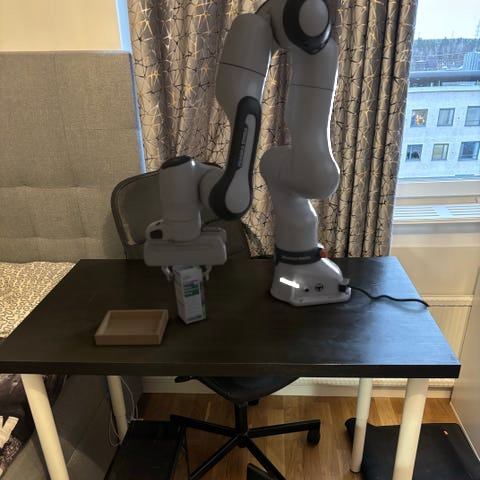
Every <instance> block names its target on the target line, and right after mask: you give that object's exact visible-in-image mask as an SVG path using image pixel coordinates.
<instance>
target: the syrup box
mask: <svg viewBox="0 0 480 480" xmlns="http://www.w3.org/2000/svg"><path fill="white" fill-rule="evenodd" d="M202 272H203V270H202V268H201V266H200V265H184V266H172V273H174V281H173V282H174V288H175V289H174V290H175V297H176V305H177V312H178V316H179V317H180V319H181V320H182V321H183V322H184V323H185V324H186V325H189V324H190V323H194V322H198V321H202V320H206V319H207V312H206V311H207V310H206V303H205V302H206V301H205V290H204V281H203V280H202Z"/></svg>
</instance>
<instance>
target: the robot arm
mask: <svg viewBox="0 0 480 480" xmlns="http://www.w3.org/2000/svg"><path fill="white" fill-rule="evenodd" d="M332 33H333V30H332V11H331V6H330V3H329V0H264V2H263V3H261V4H260V5H259V6H258V8H257V10H256V11H255V12H254V13H253V12H245V13H240V14H238V15H237V16H235V18H233V20H232V21H231V23H230V26H229V29H228V30H227V34H226V36H225V39H224V42H223V45H222V48H221V51H220V55H219V59H218V62H217V63H218V64H217V67H216V70H215V78H214V88H213V89H214V90H213V93H214V94H213V95H214V97H215V100H216V102H217V104H218V106H219V107H220V109H221V110H222V111H223V113H224V114H225V116H226V119H227V121H228V123H229V129H230V133H229V134H230V135H229V141H228V146H227V153H226V159H225V166H224V169H223V168H221V167H218V166H214V165H209V164H205V163H203V162H200V161H198V160H196V159H194V158H193V157H192V156H191V155H190V156H189V155H177V156H172V157H170V158H167V159H166V160H165V161H164V162H162V163H161V166H160V168H159V174H158V175H159V176H158V178H159V179H158V180H159V181H158V182H159V195H160V201H161V203H162V207H163V211H162V219H160V220H157V221H153V222H151V223H150V224H149V225H148V227H146V229H145V233H144V235H145V239H146V240H145V241H144V244H143V261H144V264H145V265H146V266H147V267H160V269H161V271H162V273H164V274H165V276H166V280H167V282H174V273H173V272H171V271H170V269H169V267H173V266H184V265H198V266H205V269H206V270H205V271H202V280H203V282H204V281H205V282H208V281H209V278H210V277H209V276H210V275H209V274H210V272H211V270H212V267H213V266H223V265H224V264H225V263H226V262H227V259H228V256H227V255H228V254H227V248H226V243H227V241H228V236H227V232H226V231H225V229H224V228H221V227H220V226H213V227H212V226H202V219H201V212H202V210H204V209H207V210H210V211H211V212H212V213H213V214H214V215H215V216H216V217H218V218H219V219H220V220H222V221H225V222H234V221H237V220H240V219H242V218H243V217H244V216H245V215H246V214H247V213H248V212H249V211H250V209H251V207H252V205H253V201H254V193H255V192H254V184H253V183H254V181H253V180H254V179H253V178H254V170H255V169H254V168H255V164H256V158H257V152H258V146H259V141H260V135H261V127H262V120H263V111H262V110H263V109H262V105H263V95H264V89H265V86H266V81H267V77H268V74H269V73H268V72H269V69H270V68H269V67H270V63H271V62H272V59H273V57H274V56H275V54H276V52H277V51H288V54H289V56H290V60H291V61H290V62H291V71H290V75H289V82H288V86H287V87H288V88H287V94H286V101H285V108H284V114H283V121H284V125H285V126H286V128H287V130H288V132H289V136H290V145H277V146H272V147H269V148H267V149H266V150H265V151H264V152H263V153H262V155H261V157H260V159H259V162H258V171H259V174H260V175H259V176H261V178H262V180H263V182H264V184H265V185H266V187H267V190H268V194H269V197H270V200H271V203H272V208H273V212H274V221H275V243H274V248H273V262H274V272H273V273H274V274H273V279H272V284H271V287H270V294H271V295H272V297H274V298H276V299H278V300H280V301H283V302H286V303H289V304H290V305H292V306H293V307H306V306H313V305H323V304H330V303H331V304H332V303H333V304H334V303H342V302H347V301H348V300H349V299H350V298H351V296H352V292H351V291H352V290H356V291H358V292H361V293H363V294H364V295H366V296H367V297H368V298H369V299H371V300H374V301H375V300H379V299H383V298H384V299H388V300H390V301H393V302H398V303H399V302H400V303H407V302H408V303H409V302H415V303H416V302H417V303H419V304H422V305H424V306H425V307H426V308H430V307H431V306H430V305H429V304H428V303H427V302H426V301H425V300H423V299H419V298H396V297H392V296H390V295H387V294H380V295H377V296H372V294H370V293H369V292H368V291H366V290H365V289H363V288H361V287H358V286H355V285H352V284H350V283H351V279H350V278H346V277H343V273H342V270H341V269H340V267H339V265H338V264H336V263H335V262H334V261H332V260H330V259H329V258H328V252H327V249H325V246H324V245H323V244H322V242H318V226H319V225H318V224H319V218H318V215H317V212H316V210H315V209H314V207H313V206H312V203H311V200H312V201H323V200H327V199H328V198H331V196H332V195H334V193H335V192H336V191H337V189H338V187H339V184H340V180H341V170H340V167H339V165H338V163H337V162H336V160H335V158H334V155H333V152H332V146H331V138H330V125H331V124H330V123H331V119H332V118H331V117H332V111H333V103H334V98H335V94H336V88H337V81H338V72H339V46H338V44H337V42H336V41H335V40H334V39H333V38H332ZM351 289H352V290H351Z"/></svg>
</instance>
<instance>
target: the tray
mask: <svg viewBox="0 0 480 480" xmlns="http://www.w3.org/2000/svg"><path fill="white" fill-rule="evenodd" d="M168 312H169V311H168V309H127V310H126V309H122V310H121V309H120V310H119V309H118V310H117V309H115V310H113V309H111V310H108V311H107V312H106V314H105V316H104V318H103V320H102V321H101V323H100V324H99V327H98V328H97V329H96V332H95V334H94V340H95V345H96V346H141V345H143V346H144V345H148V346H149V345H161V342H162V339H163V336H164V333H165V331H166V327H167V323H168V321H169V313H168Z"/></svg>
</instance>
